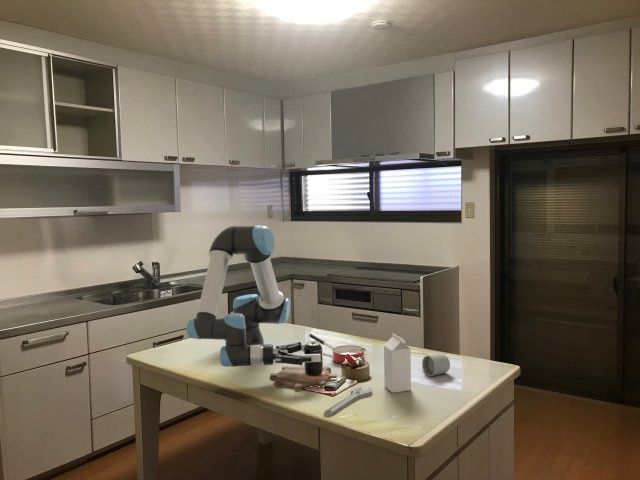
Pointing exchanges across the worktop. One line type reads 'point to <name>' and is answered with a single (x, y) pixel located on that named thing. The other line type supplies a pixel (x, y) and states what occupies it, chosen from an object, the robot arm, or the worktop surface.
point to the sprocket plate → (300, 377)
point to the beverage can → (313, 367)
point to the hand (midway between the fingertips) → (319, 352)
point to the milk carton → (397, 365)
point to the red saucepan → (342, 350)
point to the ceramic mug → (435, 364)
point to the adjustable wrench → (348, 400)
